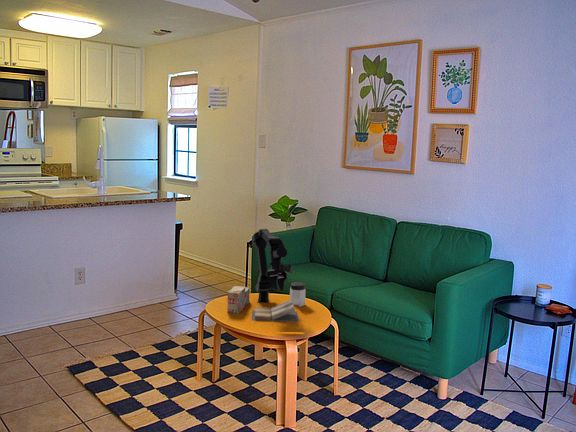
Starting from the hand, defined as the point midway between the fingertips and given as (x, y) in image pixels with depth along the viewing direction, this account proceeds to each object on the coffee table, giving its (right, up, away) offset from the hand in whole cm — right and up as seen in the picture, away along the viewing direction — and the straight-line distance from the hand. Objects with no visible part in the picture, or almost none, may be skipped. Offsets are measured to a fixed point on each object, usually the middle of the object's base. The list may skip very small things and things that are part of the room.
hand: (279, 290), depth 287 cm
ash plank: (+2, -10, -2) cm, 11 cm away
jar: (+10, -11, +22) cm, 26 cm away
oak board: (-8, -13, -2) cm, 15 cm away
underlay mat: (-2, -14, -1) cm, 14 cm away
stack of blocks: (-22, -12, +11) cm, 27 cm away
